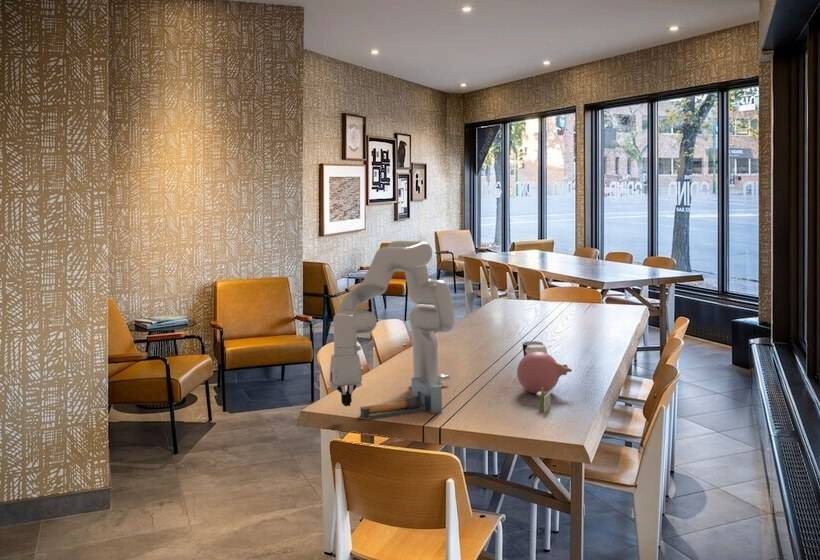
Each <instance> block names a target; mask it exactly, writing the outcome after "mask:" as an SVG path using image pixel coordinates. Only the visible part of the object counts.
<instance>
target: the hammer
mask: <svg viewBox="0 0 820 560" xmlns="http://www.w3.org/2000/svg"><path fill="white" fill-rule="evenodd" d="M401 408H403V409H404V410H410V409H417V408H422V406H421V399H420V397H419V396H415V397H412V396H410V397H405V398H404V400H400V401H395V402H394V401H393V402H388V403H387V402H386V403H380V404H373V405H372V404H371V405H367V406H360V416H361V417H362V418H363V419H367V418H368V419H369V415H370V414H373V413H374V412H375V413H381V411H382V412H387V411H388V410H389V411H393V410H394V411H395V409H396V410H401Z"/></svg>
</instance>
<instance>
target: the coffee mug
mask: <svg viewBox="0 0 820 560" xmlns="http://www.w3.org/2000/svg"><path fill="white" fill-rule="evenodd" d="M532 344H540V345H544V343H543V342H542V341H534V340H532V341H531V340H529V341H523V342H522V344H521V345H522V351H523V357H525V350H526V348H527V345H532Z"/></svg>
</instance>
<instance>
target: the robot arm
mask: <svg viewBox="0 0 820 560" xmlns="http://www.w3.org/2000/svg"><path fill="white" fill-rule="evenodd" d="M432 257H433V249H432V246H431V245H430V244H429V243H428V242H426V241H421V240H420V241H418V240H417V241H415V240H414V241H412V240H411V241H410V240H395V241H391V242H389V244H387V246H382V247H380V248H379V249H378V250H377V251H376V252H375V254H374V256H373V258H372V261H371V264H370V265H369V268H368V270H367V272H366V274H365V276H364V279H363V280H362V281H361V282H360V283H359V284H358V285H356V286H355V287H353V289H351V290H350V291H349V292H348V293H347V294H346V295H345V296H344V297H343V298H342V301H341V302H340V306H339V307H338V310H337V313H336V314H335V315H334V316H333V321H332V322H333V354H332V355H331V357H330V364H329V383H330V387H329V388H330V390H332V391H333V390H335V391H338V392H339V393H340V394H341V398H340V399H341V403H342V405H343V406H344V407H351V403H352V402H353V401H352V395H353V393H354V391H355V390H356V388H360V387H362V386H363V384H362V381H363V378H362V377H363V376H362V375H363V373H362V364H361V359H360V354H359V353H358V352H359V351H361V349H362V347H361V345H358V344H357V343H358V337H357V335H358V334H369V333H371V332H372V331H374V329H376V326H377V322H378V320H377V319H378V318H377V317H376V315H375V314H374V313H373V312H372V311H368V310H359V309H358V308H359V306H360V305H361V304H363V303H364V302H366V301H369V300H371V299H373V298H376V297H379V296H381V295H383V294H384V293H386V291H387V289H388V287H389V284H390V282H391V281H392V277H393V275H394V273H395V272H404V275H405V279H406V285H407V291H408V295H409V298H410V300H411V302H412V303H413V304H417V305H416V306H414V307H413V308H412V309H411V310H410V312H409V324H410V327H411V334H412V363H413V364H412V365H413V378H416V377H423V378H425V379H427V380H429V381H431V382H433V383H435V384H437V385H439V386H441V388H442V387H443V383H442V382H443V381H449V380H451V376H450V374H446V375H445V374H439V348H438V347H439V343H438V342H439V341H438V338H437V336H436V334H435V332H438V333H448V332H450V331H452V329H453V328H454V325H455V312H454V306H453V305H454V304H453V298H452V295H451V293H452V292H451V289H450V286H449V285H448V284H447V282H446V281H444V280H441V279H431V277H430V274H429V271H428V266H427V265H428V264H429V263H430V261H431V260H432ZM409 388H410V389H412V381H411V382H410V383H409Z"/></svg>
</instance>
